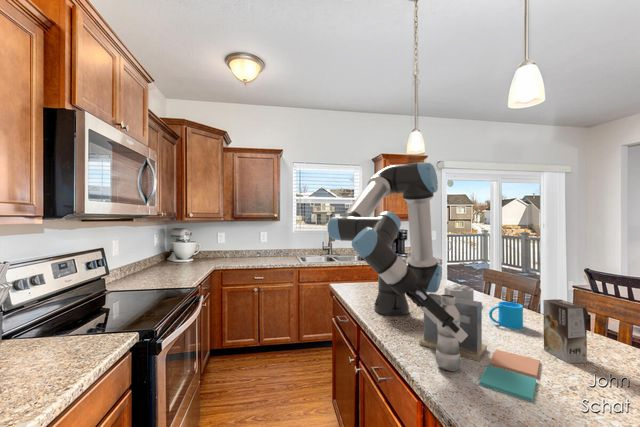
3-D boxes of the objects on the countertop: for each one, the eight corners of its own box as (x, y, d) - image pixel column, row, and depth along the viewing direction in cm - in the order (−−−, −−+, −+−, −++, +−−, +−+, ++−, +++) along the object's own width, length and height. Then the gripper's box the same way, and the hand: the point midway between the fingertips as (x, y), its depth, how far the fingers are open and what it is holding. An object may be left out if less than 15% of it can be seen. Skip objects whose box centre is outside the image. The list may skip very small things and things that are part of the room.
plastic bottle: (450, 376, 79) (450, 300, 79) (429, 365, 85) (430, 294, 85) (466, 371, 82) (466, 297, 82) (445, 360, 88) (446, 292, 88)
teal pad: (478, 384, 75) (478, 381, 75) (487, 367, 84) (487, 364, 84) (532, 402, 68) (532, 398, 68) (536, 381, 77) (536, 378, 77)
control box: (419, 344, 99) (419, 297, 99) (429, 335, 106) (429, 291, 107) (479, 361, 87) (480, 308, 87) (486, 350, 95) (486, 301, 95)
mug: (515, 322, 121) (516, 301, 121) (527, 329, 113) (527, 308, 113) (484, 320, 122) (484, 300, 122) (494, 328, 114) (494, 306, 114)
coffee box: (588, 363, 87) (588, 307, 87) (568, 363, 87) (568, 308, 87) (560, 349, 96) (560, 298, 96) (542, 349, 96) (542, 299, 96)
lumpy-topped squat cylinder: (441, 300, 152) (442, 283, 152) (466, 299, 154) (466, 282, 154) (452, 306, 142) (453, 288, 142) (478, 305, 143) (478, 287, 143)
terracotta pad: (489, 365, 85) (489, 362, 85) (496, 351, 94) (496, 349, 94) (536, 378, 78) (536, 375, 78) (539, 362, 87) (539, 360, 87)
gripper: (427, 273, 70) (488, 336, 71) (392, 259, 95) (437, 305, 96) (405, 297, 69) (466, 359, 71) (375, 275, 94) (421, 322, 96)
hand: (450, 328), depth 83 cm, fingers open, 13 cm apart
